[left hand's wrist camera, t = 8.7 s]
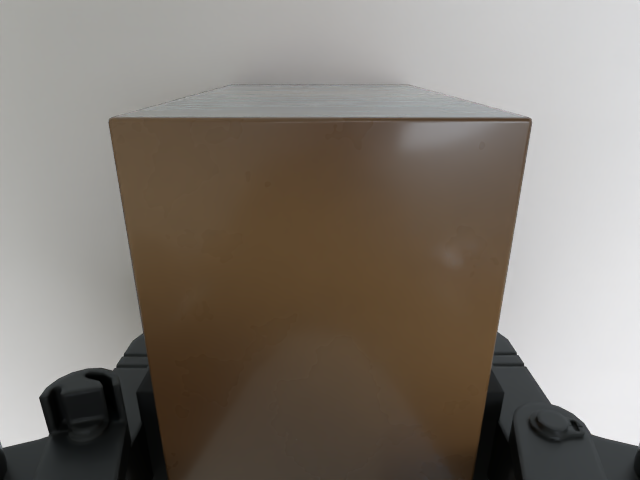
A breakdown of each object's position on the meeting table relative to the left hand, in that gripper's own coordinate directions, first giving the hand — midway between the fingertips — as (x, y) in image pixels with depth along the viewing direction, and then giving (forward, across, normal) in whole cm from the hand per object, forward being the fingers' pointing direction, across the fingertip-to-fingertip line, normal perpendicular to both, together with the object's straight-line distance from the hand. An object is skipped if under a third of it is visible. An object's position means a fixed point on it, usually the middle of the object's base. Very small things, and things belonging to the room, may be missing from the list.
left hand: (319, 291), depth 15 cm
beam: (+1, 0, -21) cm, 21 cm away
